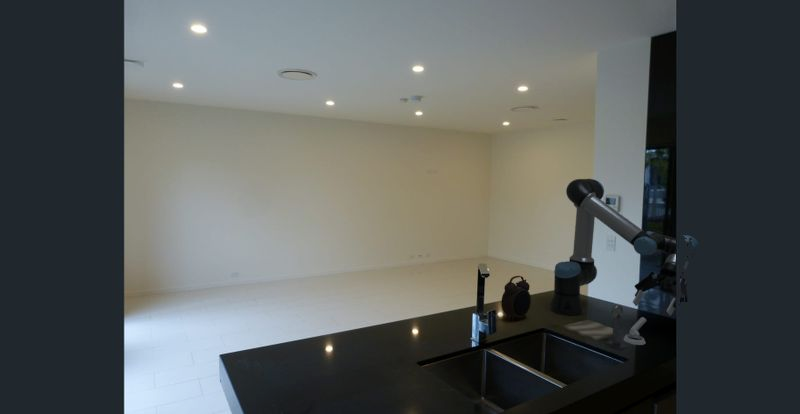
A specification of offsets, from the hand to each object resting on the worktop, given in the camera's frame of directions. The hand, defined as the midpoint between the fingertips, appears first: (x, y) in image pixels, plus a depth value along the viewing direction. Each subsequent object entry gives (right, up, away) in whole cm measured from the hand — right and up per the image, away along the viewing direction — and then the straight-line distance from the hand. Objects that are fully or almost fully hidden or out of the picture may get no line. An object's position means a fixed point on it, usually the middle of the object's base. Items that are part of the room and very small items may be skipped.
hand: (651, 308), depth 164 cm
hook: (-8, -13, -2) cm, 15 cm away
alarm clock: (-47, -11, +25) cm, 54 cm away
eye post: (-17, -13, -6) cm, 23 cm away
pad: (-20, -12, +9) cm, 25 cm away
